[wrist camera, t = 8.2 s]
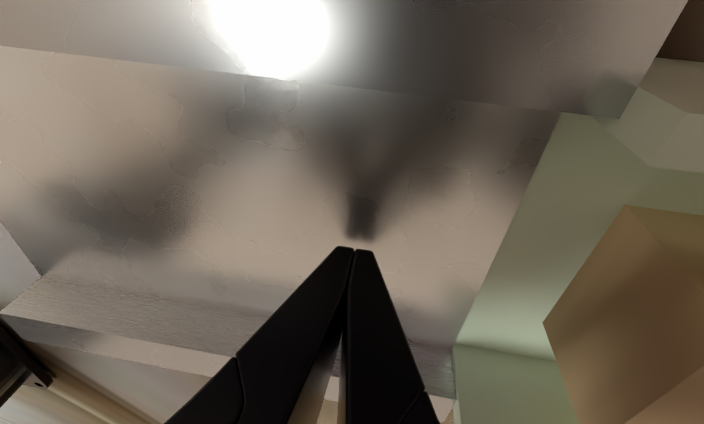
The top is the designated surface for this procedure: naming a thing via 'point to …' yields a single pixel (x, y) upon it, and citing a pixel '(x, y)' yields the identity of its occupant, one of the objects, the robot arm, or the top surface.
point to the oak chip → (636, 323)
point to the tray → (574, 239)
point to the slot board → (284, 156)
